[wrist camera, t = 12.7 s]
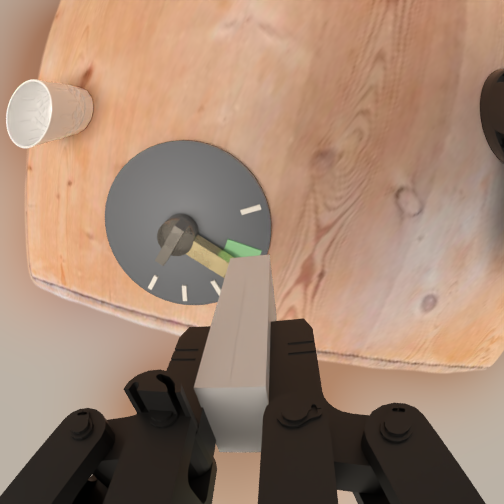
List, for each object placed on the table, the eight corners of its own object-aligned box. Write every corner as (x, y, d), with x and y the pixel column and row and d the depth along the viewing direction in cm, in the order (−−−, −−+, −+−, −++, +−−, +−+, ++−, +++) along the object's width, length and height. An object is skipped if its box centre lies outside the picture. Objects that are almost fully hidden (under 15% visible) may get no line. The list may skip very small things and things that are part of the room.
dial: (104, 143, 36) (98, 144, 34) (276, 143, 35) (276, 143, 34) (119, 292, 44) (115, 297, 43) (265, 306, 44) (264, 312, 42)
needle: (157, 236, 39) (143, 253, 34) (175, 204, 37) (162, 217, 32) (241, 288, 41) (237, 311, 36) (263, 260, 39) (261, 280, 35)
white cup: (73, 73, 32) (26, 67, 23) (108, 102, 34) (63, 101, 24) (45, 119, 34) (-2, 125, 25) (77, 149, 36) (31, 162, 27)
